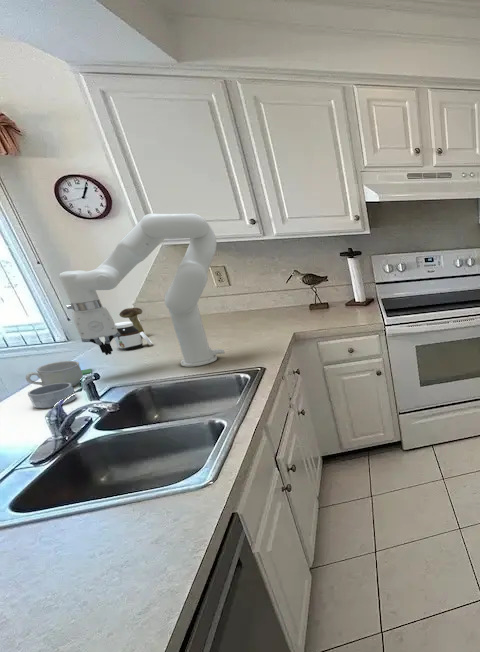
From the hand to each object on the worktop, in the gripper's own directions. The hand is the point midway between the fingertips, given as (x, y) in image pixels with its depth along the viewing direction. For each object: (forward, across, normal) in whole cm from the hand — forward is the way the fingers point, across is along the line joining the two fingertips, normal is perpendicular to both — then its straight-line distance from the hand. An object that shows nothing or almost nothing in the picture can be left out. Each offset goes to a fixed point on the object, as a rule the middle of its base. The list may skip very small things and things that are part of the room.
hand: (108, 353), depth 155 cm
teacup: (+9, -16, 0) cm, 18 cm away
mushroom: (+9, +10, +60) cm, 62 cm away
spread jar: (+9, +8, +41) cm, 43 cm away
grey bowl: (+9, -16, -17) cm, 25 cm away
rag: (+9, -11, +13) cm, 19 cm away
